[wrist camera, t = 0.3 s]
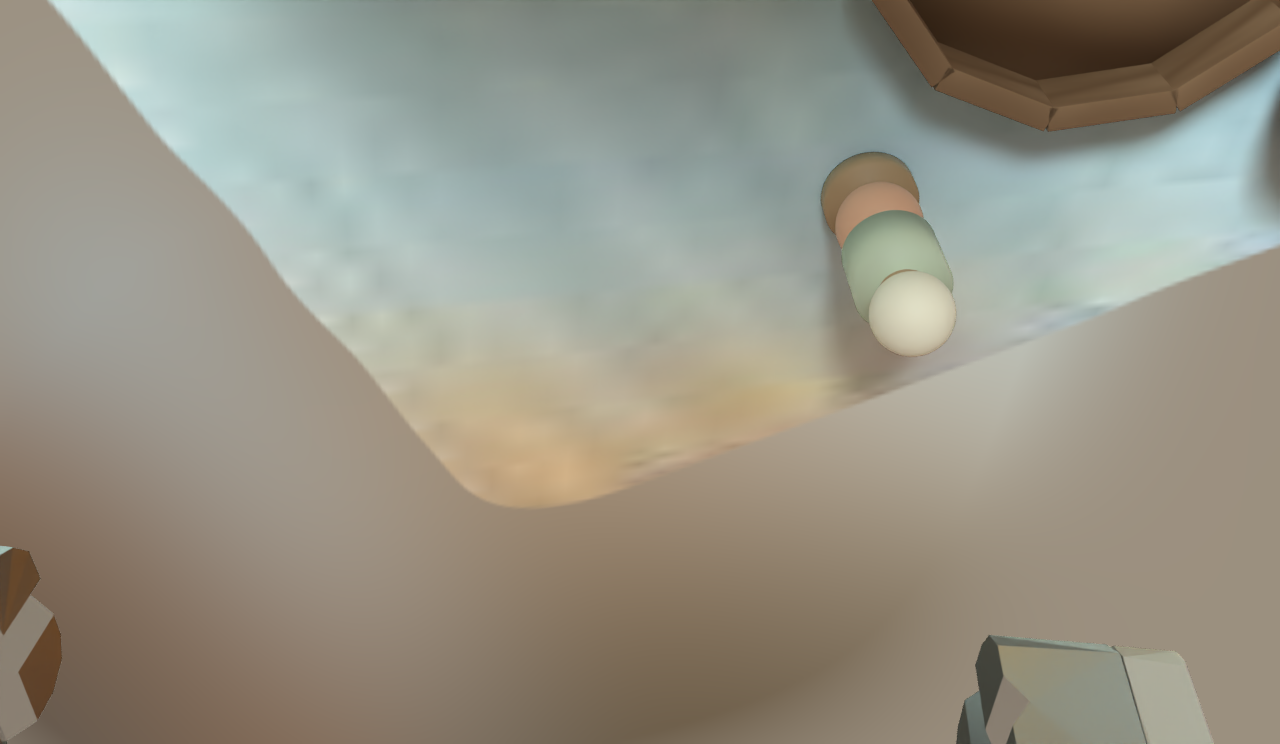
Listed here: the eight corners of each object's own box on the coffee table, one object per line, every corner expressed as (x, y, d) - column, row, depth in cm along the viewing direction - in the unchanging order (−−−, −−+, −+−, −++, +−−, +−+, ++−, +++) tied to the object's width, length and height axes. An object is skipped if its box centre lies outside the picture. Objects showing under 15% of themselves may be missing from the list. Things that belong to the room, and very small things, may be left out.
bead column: (818, 159, 51) (865, 303, 43) (914, 145, 51) (978, 287, 43) (822, 239, 54) (867, 389, 46) (913, 226, 54) (975, 374, 46)
